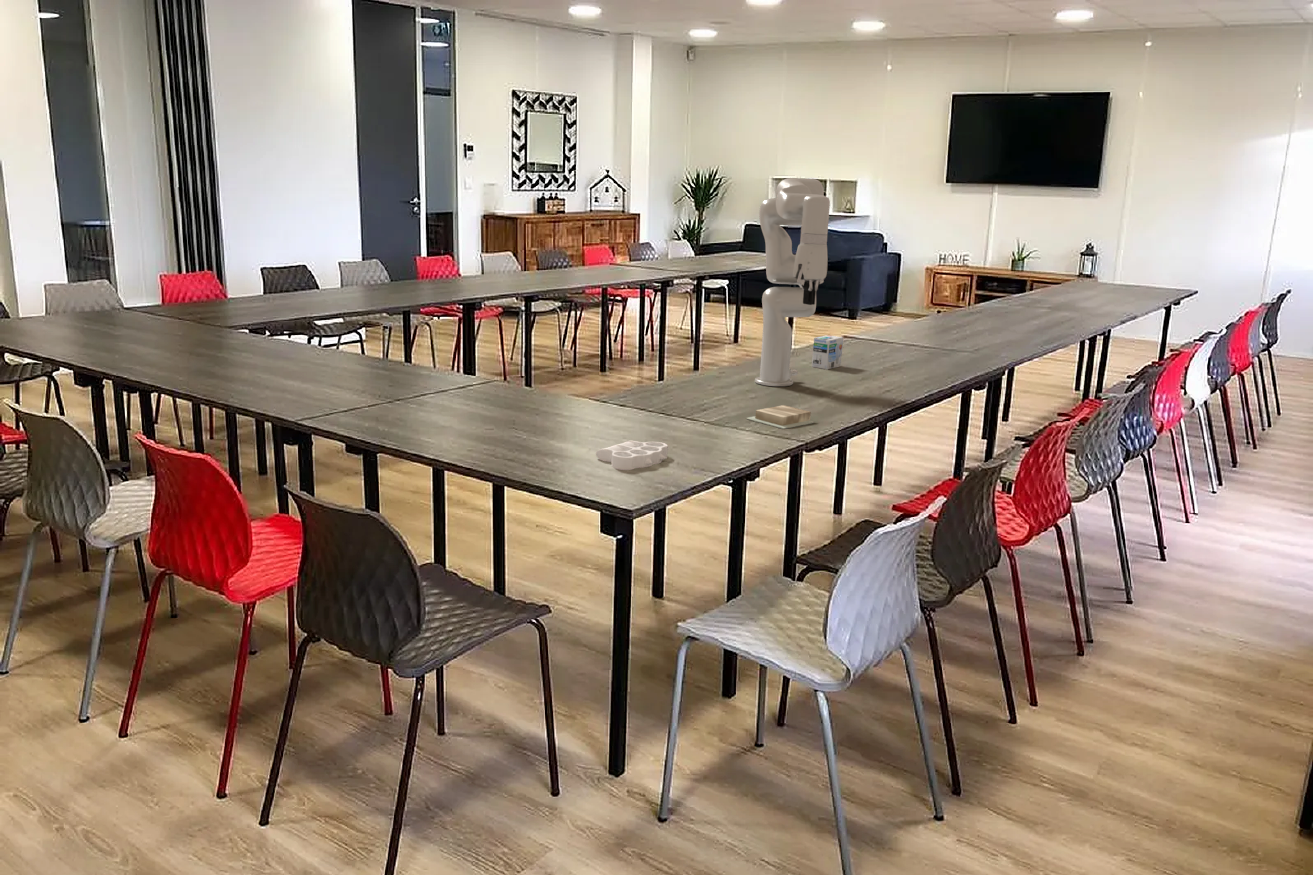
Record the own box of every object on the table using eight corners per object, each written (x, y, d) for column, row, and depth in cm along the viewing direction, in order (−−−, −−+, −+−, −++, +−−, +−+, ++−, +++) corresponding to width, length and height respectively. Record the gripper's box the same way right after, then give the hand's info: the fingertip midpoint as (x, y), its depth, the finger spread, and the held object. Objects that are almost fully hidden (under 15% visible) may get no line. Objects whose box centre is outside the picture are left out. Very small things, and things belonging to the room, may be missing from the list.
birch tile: (783, 405, 306) (755, 410, 298) (810, 411, 299) (782, 417, 291) (783, 413, 307) (755, 418, 299) (810, 420, 300) (782, 425, 292)
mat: (776, 413, 308) (776, 412, 308) (813, 422, 298) (813, 421, 298) (745, 418, 299) (745, 417, 299) (783, 429, 289) (783, 428, 289)
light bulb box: (827, 370, 378) (829, 340, 376) (810, 367, 382) (813, 337, 379) (841, 366, 387) (844, 336, 384) (825, 363, 390) (827, 334, 388)
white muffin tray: (632, 449, 265) (681, 460, 257) (587, 463, 251) (636, 475, 242) (633, 436, 264) (681, 446, 256) (587, 449, 250) (637, 461, 242)
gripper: (819, 238, 310) (815, 301, 315) (786, 239, 300) (781, 304, 305) (840, 240, 305) (835, 304, 310) (807, 241, 295) (802, 307, 300)
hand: (808, 304), depth 307 cm, fingers closed
